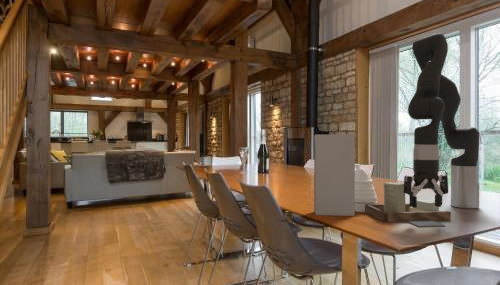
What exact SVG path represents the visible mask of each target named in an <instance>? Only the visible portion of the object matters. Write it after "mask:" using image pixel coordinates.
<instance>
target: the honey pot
mask: <svg viewBox="0 0 500 285" xmlns="http://www.w3.org/2000/svg"><path fill="white" fill-rule="evenodd" d="M373 182H374V180H373V179H371V177H370V175H369V174H368V172H367V171H366V169H365V168H363V167H361V164H360V163H355V212H358V213H366V212H365V204H378V195H377V192H376V191H375V190H376V188H375V187H374V184H373Z"/></svg>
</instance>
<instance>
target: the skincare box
mask: <svg viewBox="0 0 500 285" xmlns="http://www.w3.org/2000/svg"><path fill="white" fill-rule="evenodd" d="M403 191H404V182H403V183H402V182H401V183H400V182H393V181H390V182H383V204H384V211H385V212H406V210H405V204H406V193H404V192H403Z"/></svg>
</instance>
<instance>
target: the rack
mask: <svg viewBox="0 0 500 285" xmlns="http://www.w3.org/2000/svg"><path fill="white" fill-rule="evenodd" d="M409 207H411V205H410V203H405V210H406V212H385V211H384V203H377V204H365V212H364V213H366V214H368V215H370V216H371V217H374V218H376V219H378V220H380V221H382V222H384V223H395V222H406V221H408V220H433V221H435V222H438V221H439V222H443V221H451V220H452V219H451V218H452V214H451V213H452V211H449V210H439V211H425V212H409Z"/></svg>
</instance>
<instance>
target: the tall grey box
mask: <svg viewBox="0 0 500 285" xmlns="http://www.w3.org/2000/svg"><path fill="white" fill-rule="evenodd" d="M313 141H314V142H313V143H314V144H313V145H314V149H313V150H314V154H313V155H314V156H313V157H314V159H313V161H314V163H313V164H314V169H313V170H314V171H313V172H314V173H313V174H314V176H313V177H314V178H313V179H314V180H313V181H314V182H313V190H314V191H313V194H314V195H313V196H314V197H313V199H314V200H313V201H314V202H313V212H314V213H315V215H316V216H341V217H343V216H345V217H346V216H347V217H348V216H349V217H355V212H356V211H355V171H356V168H355V164H356V162H355V161H356V158H355V156H356V143H355V142H356V135H355V134H314V139H313Z"/></svg>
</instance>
